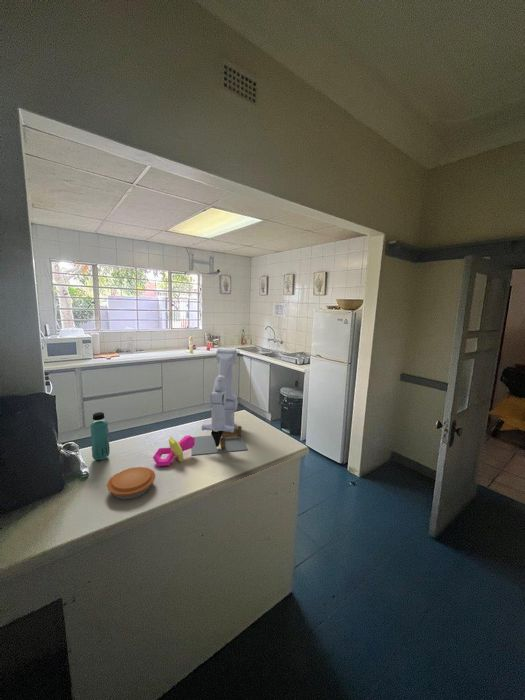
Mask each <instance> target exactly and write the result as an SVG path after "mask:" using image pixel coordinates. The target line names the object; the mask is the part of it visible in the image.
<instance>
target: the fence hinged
mask: <svg viewBox="0 0 525 700" xmlns="http://www.w3.org/2000/svg"><path fill="white" fill-rule="evenodd" d="M225 440H226V438H224V437H222V436H221V439H220V445H221V449H225Z"/></svg>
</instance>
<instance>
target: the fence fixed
mask: <svg viewBox="0 0 525 700" xmlns="http://www.w3.org/2000/svg"><path fill="white" fill-rule="evenodd" d="M241 434H242V426H241V425H238V426H237V428H234V432H228V431H224V432H223V434H222V437H233V436H238V437H241Z"/></svg>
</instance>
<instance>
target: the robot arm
mask: <svg viewBox="0 0 525 700" xmlns="http://www.w3.org/2000/svg"><path fill="white" fill-rule="evenodd" d="M215 358H216V361H217V363H218V376H216V377H215V379H214V383H213V388H212V391H211V392H210V394H209V395H210V396H209V404H210V408H211V423H209V424H202V425H201V431H205V430H206V431H211V435H212V436H213V438H214V441H215V444H216V447H218V446H219V443H220V439H221V436H222V434H223V432H224V431H228V432H234V429H237V426H236V424H235V412H236V411H237V410H238V404H239V403H238V397H237V396H238V395H236V394H235V393H233V367H234V364H237V362H238V351H237V349H229V348H228V349H226V348H217V350H216V352H215ZM211 435H210V436H211Z"/></svg>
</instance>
